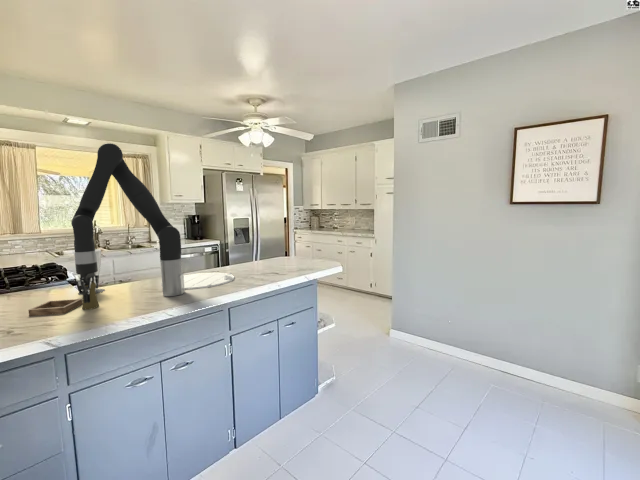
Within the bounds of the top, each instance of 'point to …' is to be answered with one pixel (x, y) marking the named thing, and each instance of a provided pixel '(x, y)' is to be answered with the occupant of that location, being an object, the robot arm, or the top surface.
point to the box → (46, 310)
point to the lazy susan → (206, 280)
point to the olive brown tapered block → (91, 298)
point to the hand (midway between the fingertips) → (90, 301)
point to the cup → (98, 256)
